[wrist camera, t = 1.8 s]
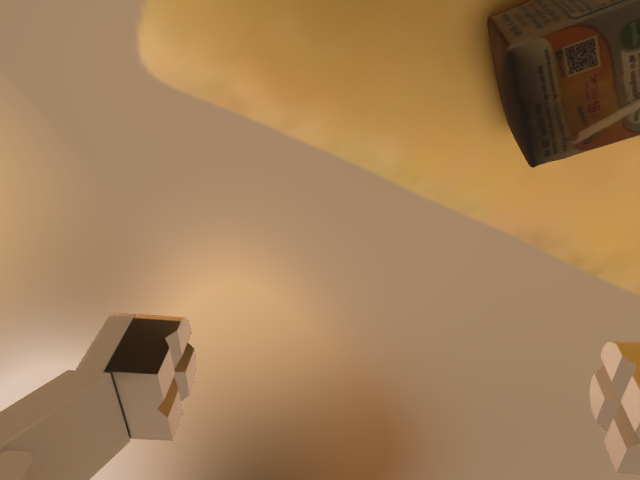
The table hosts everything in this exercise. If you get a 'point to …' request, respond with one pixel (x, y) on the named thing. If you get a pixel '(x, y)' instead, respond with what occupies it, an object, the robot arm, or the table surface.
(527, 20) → the beverage carton
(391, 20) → the table surface
